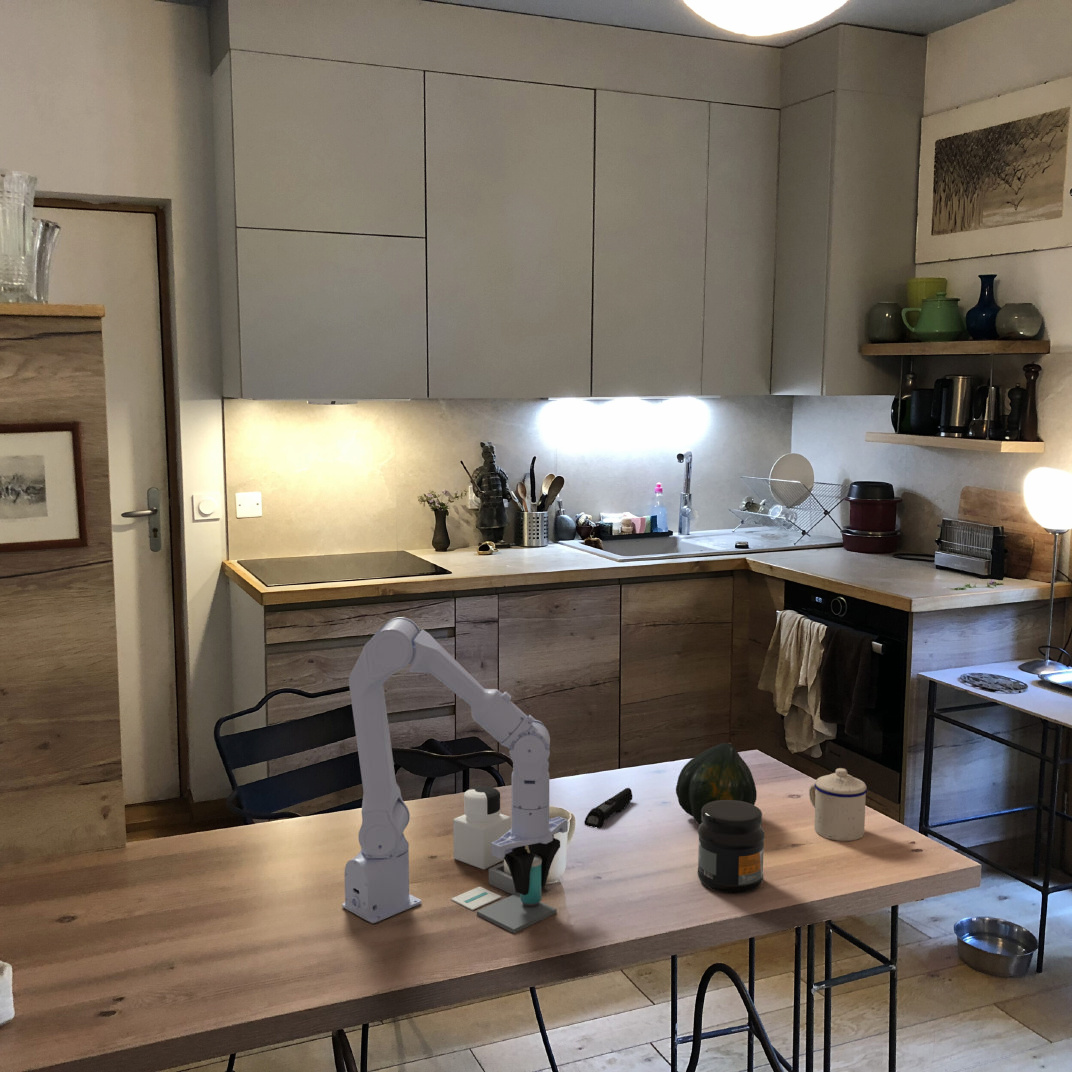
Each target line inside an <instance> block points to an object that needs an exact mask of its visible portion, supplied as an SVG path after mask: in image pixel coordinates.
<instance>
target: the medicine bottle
mask: <svg viewBox="0 0 1072 1072" xmlns="http://www.w3.org/2000/svg"><path fill="white" fill-rule="evenodd" d="M463 797H464V798H463V801H464V802H463V804H464V805H463V807H464V809H463V810H464V811H463V812H464V814H462V815H460V816H458V817H455V818H454V819H453V822H452V823H453V827H452V829H453V832H452V833H453V859H454V860H457V861H459V862H462V863H464V864H467V865H470V866H473V867H476V868H478V869H480V870H486V869H489V868H492V866H493V867H494V866H496V864H497V865H498V864H500V862H504V858H501V859H499V858H497V857H495V856H492V855H491V843H492V842H494V841H496V840H498V839H499V838H501V837H502V836H503V835H504V834H505V833H507V832H508V831H509V830H510V829H512V816H510V815H509V816H508V815H506V814H503V813H501V792H500V791H499V790H498V789H497V788H495V787H492V786H489V785H477V786H473V787H470V788H468V789H467V790H466V791H465V792H464V794H463Z"/></svg>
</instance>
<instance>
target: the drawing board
mask: <svg viewBox="0 0 1072 1072" xmlns="http://www.w3.org/2000/svg"><path fill="white" fill-rule="evenodd" d="M556 913H557V908H555V907H553V906H551V905H549V904H547V903H545V902H542V901H540V902H539V904H538V905H537V906H532V907H529V906H525V905H523V904H522V901H521V900H520V893H516V894H514V895H512V894H511V895H509V896H508V897H506V898H502V899H501V900H499V901H496V902H494V903H491V904H489V905H487V906H485V907H483V908H479V909H478V910H476V916H478V917H479V918H483V920H486V921H488V922H490V923H493V924H494V925H496V926H498V927H501V928H502V929H504V930H506V931H509V932H511V933H512V934H515V933H517V932H520V931H521V930H524V929H526V928H528V927H529V926H532V925H534V924H536V923H538V922H540V921H542V920H544V919H546V918H548V917H550V916H552V915H554V914H556Z"/></svg>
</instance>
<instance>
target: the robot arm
mask: <svg viewBox="0 0 1072 1072" xmlns="http://www.w3.org/2000/svg"><path fill="white" fill-rule="evenodd" d="M408 665H411V666H410V668H409V670H408V672H409V673H422V674H423V673H426V674H431V675H432V676H433V677H435V678H436V679H437V680H438V681H439V682H440V683H442V684H443V685H444V686H446V688H448V689H449V690H451V691H452V692H453V693H454V694H455V695H456V696H458V697H459V698H460V699H461V700H463V701H464V702H465V703H466V704H467V705H469V706H470V709H471V710H470V711H471V718H472V720H473V721H475V723H476V724H477V725H479V726H480V727H482V728H483V729H484V730H485V731H486V732H487V733H488V734H490V736H491V737H493V738H494V740H496V741H497V742H498V743H500V745H501V746H503V747H505V748H507V749H509V750H508V751H509V758H510V760H511V761H512V763H513V764H512V770H513V771H512V772H511V829H510V830H509V831H508V832H507V833H505V834H504V835H503V836H502V837H501V838H499V839H498V840H496V841H494V842H492V843H491V855H492V856H495V857H497V858H499V859H501V858H504V859H505V861H506V863H507V865H508V867H509V870H510V872H511V875H512V879H513V882H514V886H515V890H516V892H518V893H520V894H522V895H527V894H528V891H529V881H530V870H531V866H532V862H533V860H534V857H535V855H538V856H540V857H541V858H542V863H541V888H544V887H545V886H546V883H547V880H548V876H549V873H550V869H551V865H552V863H553V861H554V859H555V856H556V855H557V853H558V851H559V849H560V848H561V840H559V839H558V838H556V837H555V835H556V834H558V833H562V834H564V833H567V832H568V827H569V826H568V825H569V824H568V823H569V822H568V821H569V820H568V818H564V817H561V816H556V817H551V818H550V772H549V767H550V761H549V758H550V754H551V751H550V745H551V738H550V733H549V730H548V729H547V727H546V726H545V725H544V723H543V722H542V721H540V720H539V719H536V718H534V717H533V716H532V715H531V714H529V715H527V714H525V712H524V711H522V710H521V709H520V708H519V707H518V706H517V705H516V704H515V703H514V702H513V701H511V699H512V695H511V694H509V692H507V691H504V692H503V693H502V692H501V691H500V690H499V689H497V688H485V687H483V685H482V684H480V682H479V681H477V680H476V679H475V677H473V676H472V675H471V673H469V672H468V671H467V670H466V669H465V668H464V666H462V665H461V664H460V663H459V662H458V661H457V660H456V659H455V658H454V657H453V656H452V655H451V654H450V653H449V652H448V651H447V650H446V649H445V648H444V647H443V646H442V645H441V644H439V643H438V641H437V640H436V639H435V638H434V637H433V636H432V635H431V634H430V633H429V632H428V631H426V630H424V629H423V628H422V629H420V627H419V626H418V624H417V623H416V622H415V621H414V620H412V619H409V618H407V617H404V616H403V617H401V616H399V617H394V618H391V619H390V620H388V621H387V622H386V623H385V624H384V625H382V627H380V628H379V629H378V630H377V631H376V632H375V633H374V635H373V636H372V637H371V639H370V640H368V641H367V643H365V644H364V646H363V647H362V651H361V653H360V654H359V657H358V658H357V660H356V663H355V665H354V667H353V669H352V670H351V673H350V674H349V678H348V685H349V686H348V687H349V694H350V700H351V701H350V702H351V708H352V716H353V722H354V731H355V736H356V745H357V753H358V759H359V767H360V768H359V769H360V775H361V782H362V783H361V784H362V790H363V796H362V802H361V804H362V805H361V819H362V820H361V825H360V828H359V830H358V838H357V839H358V843H359V846H360V851H359V852H358V853H357V854H356V855H355V856H354V857H353V858H351V859H350V860H348V861H347V862H346V864H345V867H344V902H343V903H342V904H341V907H342V908H344V909H346V910H347V911H349V912H351V913H353V914H354V915H356V916H358V917H360V918H361V919H363V920H365V921H367V922H369V923H371V924H376V923H378V922H380V921H383V920H385V919H387V918H390V917H392V916H396V915H397V914H400V913H402V912H404V911H407V910H409V909H411V908H413V907H416V906H419V905H421V904H422V900H421V899H420V898H419V897H416V896H415V895H412V894H411V893H410V859H409V858H410V855H409V854H410V852H409V847H410V846H409V845H410V844H409V841H408V840H407V838H406V837H405V833H404V832H405V830H406V828H407V827H408V824H409V822H410V811H409V808H408V806H407V805H406V803H405V802H404V800H403V797H402V794H401V793H402V791H401V789H400V786H399V784H398V783H397V781H396V774H395V773H396V772H395V767H394V757H393V750H392V741H391V734H390V727H389V726H390V725H389V720H388V711H387V705H386V696H385V689H384V688H385V687H384V684H385V683H386V681H387V680H388V679H389V678H390V677H391V676H392V675H394V674H395V673H397V672H399V671H402V670H403V669H404V668H406V667H407V666H408ZM526 847H528V849H527V848H526ZM528 850H529V851H528ZM533 854H534V855H533Z"/></svg>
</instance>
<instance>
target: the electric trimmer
mask: <svg viewBox="0 0 1072 1072" xmlns="http://www.w3.org/2000/svg"><path fill="white" fill-rule="evenodd" d="M632 800H633V792H632V789H631V788H630V787H626V788H624V789H623V790H621V791H619V792H618V793H616V794H615V795H614V796H612V797H610V798H608V799H607V800H605V801H603V802H602V803H600V804H599V805H597V806H596V807H593V808H592V809H590V811H589V812H588V813H587V815H586V816H585V819H584V825H585V826H586V825H587V826H586V827H590V826H592V827H591V828H595V827H597V828H596V829H600V828H603V827H604V825H605V822H606V821H607V820H609V818H610V817H612V816H614V814H619V813H621V812H623V811H624V809H626V807H627V806H628V805H629V804H630V803H631V801H632ZM618 812H619V813H618Z"/></svg>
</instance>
